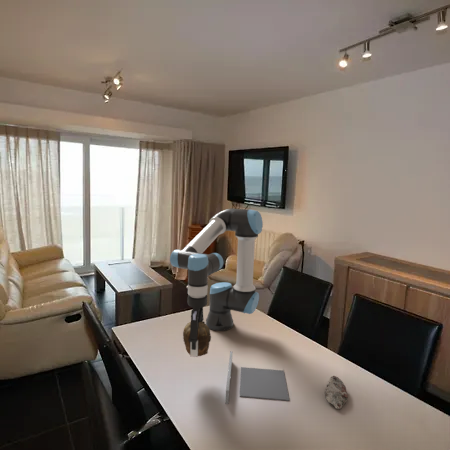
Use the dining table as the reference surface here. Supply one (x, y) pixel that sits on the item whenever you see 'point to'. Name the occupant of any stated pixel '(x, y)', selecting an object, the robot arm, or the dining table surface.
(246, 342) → the dining table surface
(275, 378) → the rest mat
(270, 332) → the dining table surface
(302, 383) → the dining table surface
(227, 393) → the acrylic wall
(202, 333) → the ribbed globe cactus
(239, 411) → the dining table surface
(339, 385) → the mineral rock
